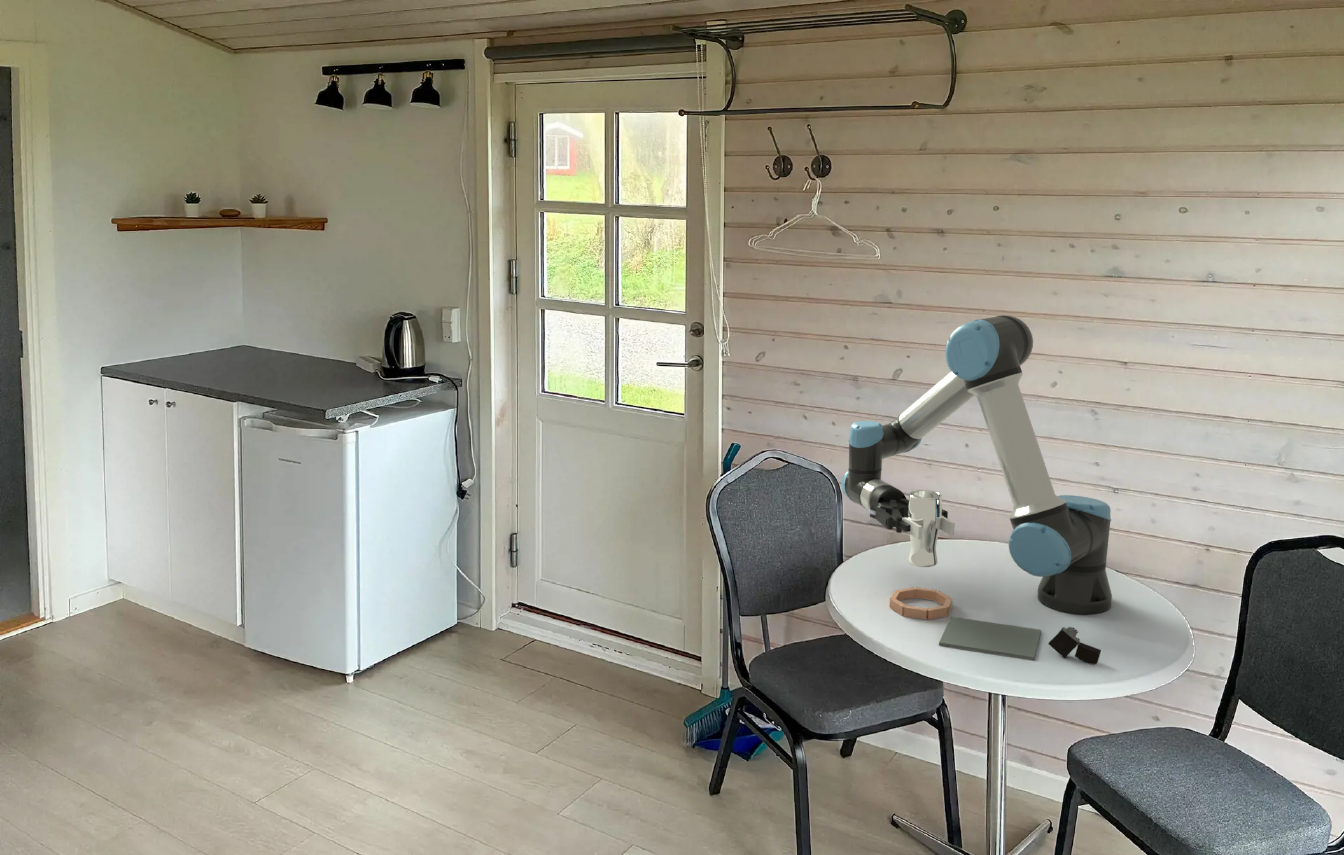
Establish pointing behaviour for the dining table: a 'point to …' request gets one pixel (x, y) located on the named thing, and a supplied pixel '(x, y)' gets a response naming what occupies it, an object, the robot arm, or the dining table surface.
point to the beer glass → (925, 526)
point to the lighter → (1068, 641)
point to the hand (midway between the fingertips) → (936, 531)
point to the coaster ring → (917, 611)
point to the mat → (991, 638)
